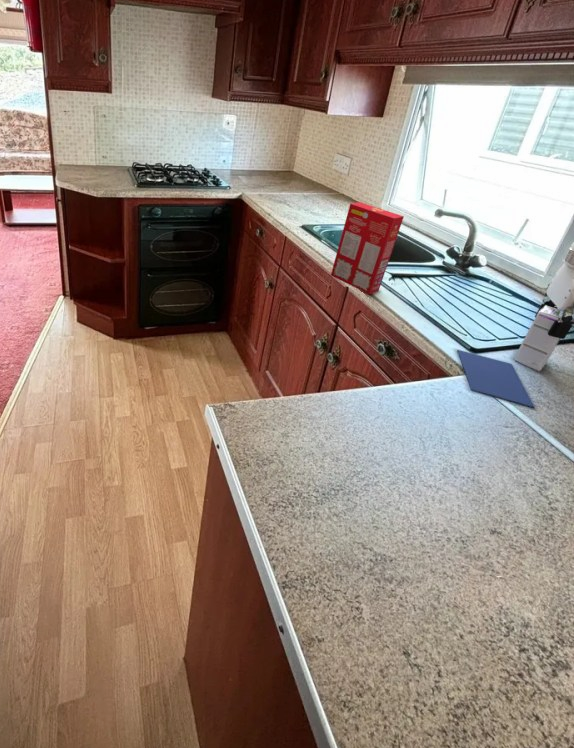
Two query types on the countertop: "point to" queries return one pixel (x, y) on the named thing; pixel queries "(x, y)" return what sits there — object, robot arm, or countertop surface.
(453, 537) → the countertop surface
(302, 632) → the countertop surface
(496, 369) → the cloth
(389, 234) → the food packaging
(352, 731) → the countertop surface
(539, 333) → the syrup box
